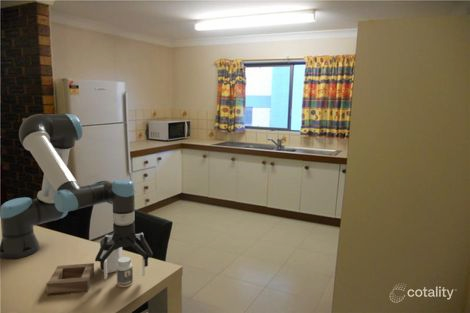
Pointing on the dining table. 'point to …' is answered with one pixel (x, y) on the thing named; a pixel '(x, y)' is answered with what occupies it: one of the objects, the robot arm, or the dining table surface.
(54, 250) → the dining table surface
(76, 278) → the socket block
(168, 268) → the dining table surface
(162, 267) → the dining table surface
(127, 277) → the pill bottle
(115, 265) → the jar
